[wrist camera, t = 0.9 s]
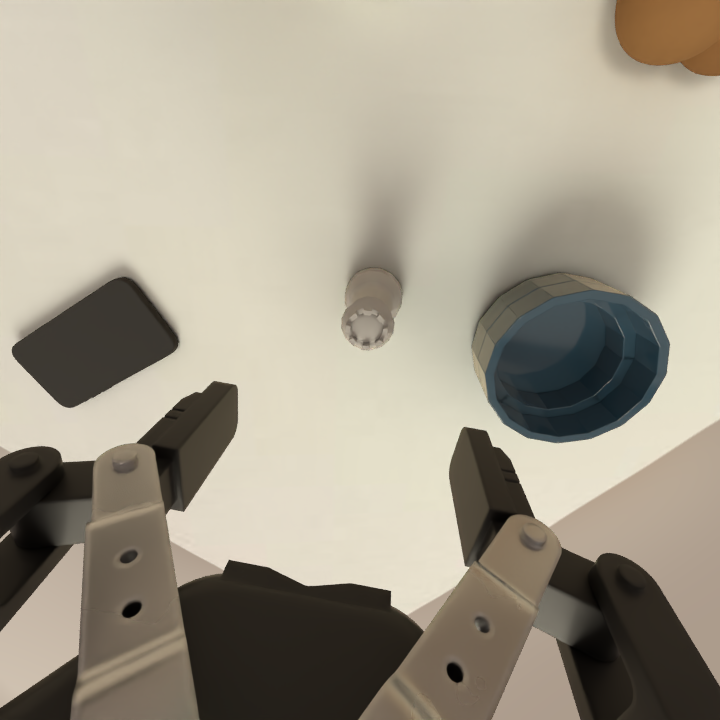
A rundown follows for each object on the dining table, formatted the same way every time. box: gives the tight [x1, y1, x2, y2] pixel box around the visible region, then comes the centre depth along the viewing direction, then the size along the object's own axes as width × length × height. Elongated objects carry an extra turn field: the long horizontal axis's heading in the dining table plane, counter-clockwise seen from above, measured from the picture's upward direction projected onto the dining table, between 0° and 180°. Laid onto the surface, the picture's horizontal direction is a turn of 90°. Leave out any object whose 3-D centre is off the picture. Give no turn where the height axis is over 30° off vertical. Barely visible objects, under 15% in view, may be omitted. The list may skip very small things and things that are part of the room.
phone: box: [12, 278, 178, 408], centre depth 32 cm, size 7×1×15 cm
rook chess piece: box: [341, 268, 402, 350], centre depth 25 cm, size 4×4×8 cm
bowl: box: [472, 273, 670, 443], centre depth 26 cm, size 11×11×6 cm
